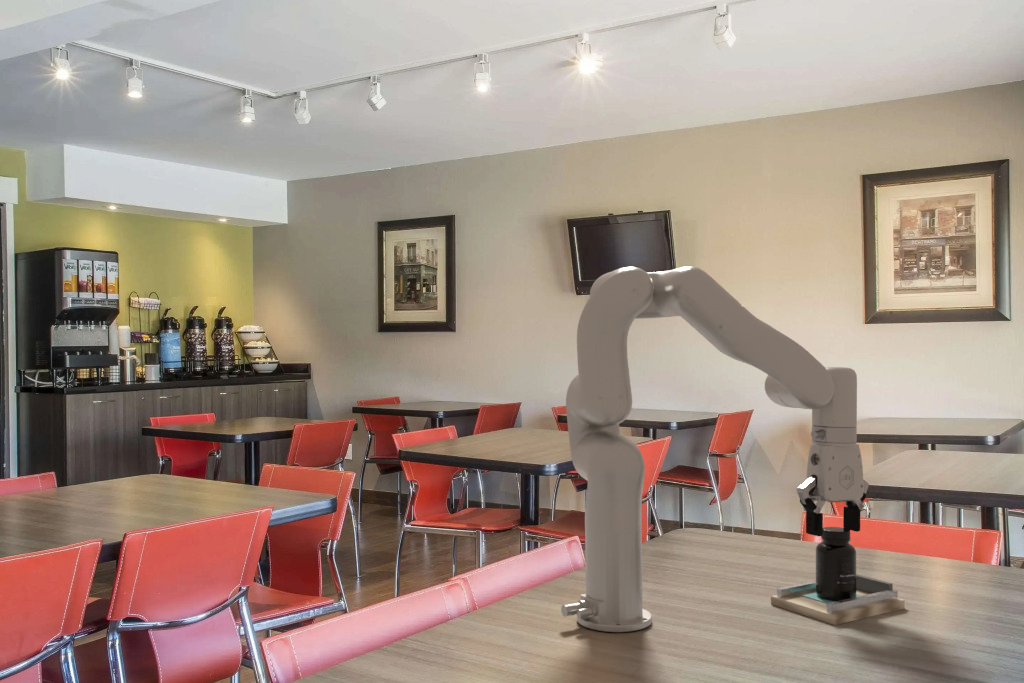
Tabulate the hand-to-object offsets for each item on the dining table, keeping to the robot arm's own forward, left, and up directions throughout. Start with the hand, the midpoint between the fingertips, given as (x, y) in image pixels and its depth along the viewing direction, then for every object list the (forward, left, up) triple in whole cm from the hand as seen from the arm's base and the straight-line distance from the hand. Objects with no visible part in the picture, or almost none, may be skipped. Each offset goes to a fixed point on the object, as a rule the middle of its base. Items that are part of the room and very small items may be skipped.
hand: (833, 532), depth 154 cm
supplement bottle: (0, 0, -12) cm, 12 cm away
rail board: (+1, 0, -13) cm, 13 cm away
